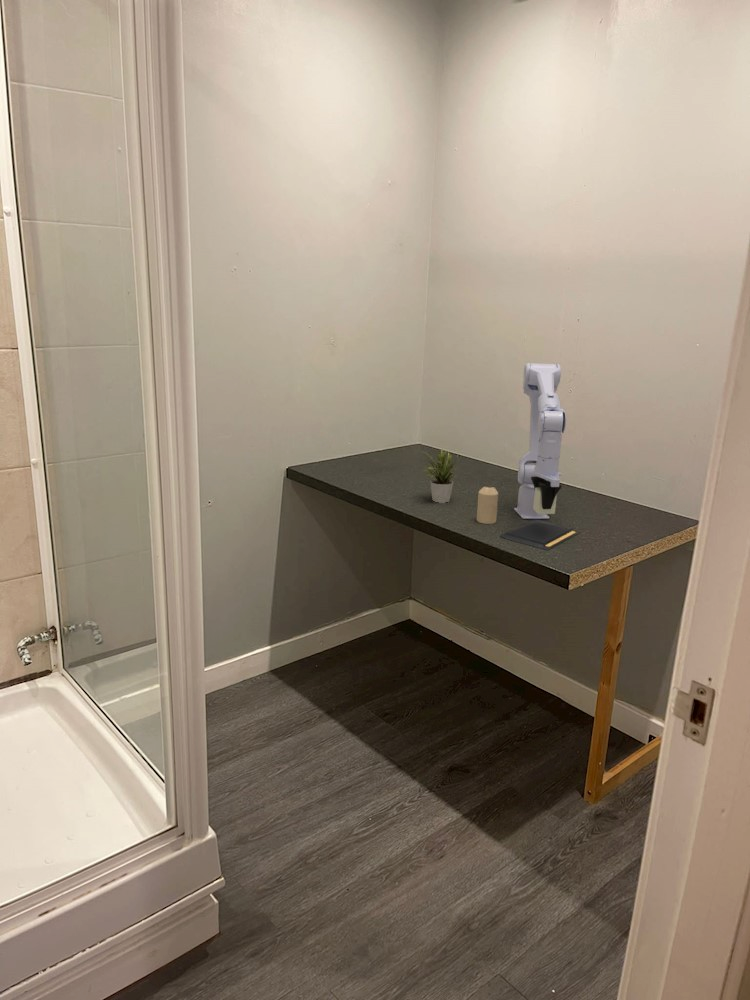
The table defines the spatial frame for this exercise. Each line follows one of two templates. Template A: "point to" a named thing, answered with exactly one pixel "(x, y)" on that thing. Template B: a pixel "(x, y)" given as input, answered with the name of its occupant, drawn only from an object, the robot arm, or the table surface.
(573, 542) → the table surface
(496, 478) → the table surface
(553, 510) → the block
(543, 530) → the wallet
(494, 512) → the candle
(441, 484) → the house plant
